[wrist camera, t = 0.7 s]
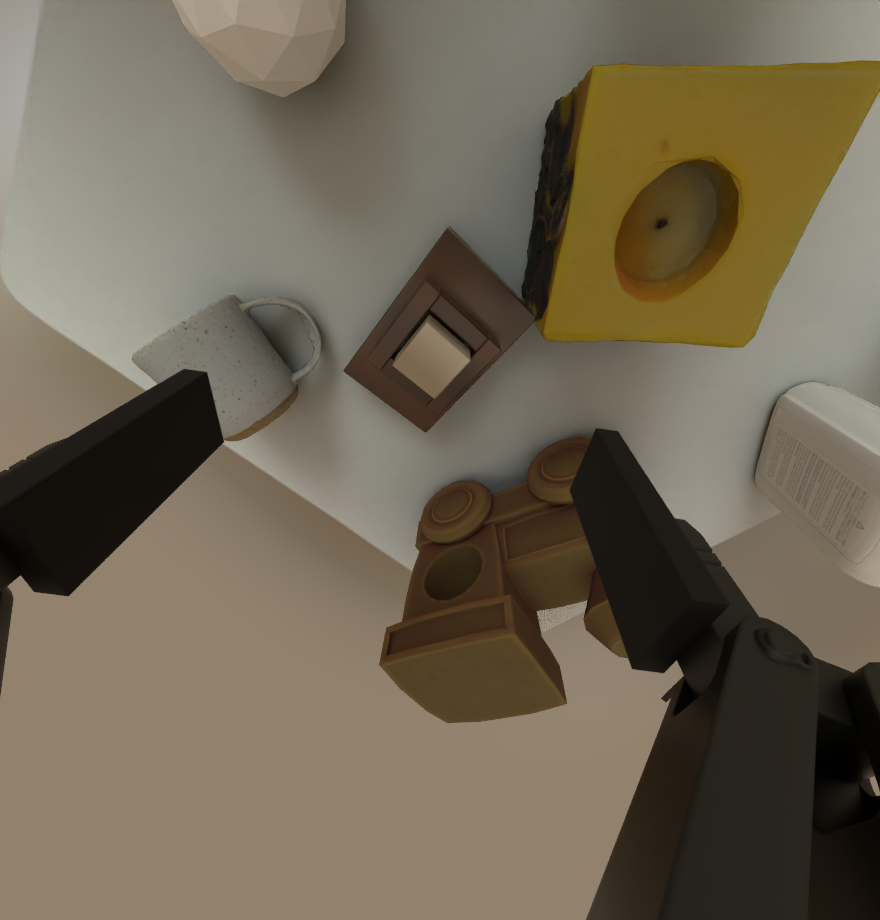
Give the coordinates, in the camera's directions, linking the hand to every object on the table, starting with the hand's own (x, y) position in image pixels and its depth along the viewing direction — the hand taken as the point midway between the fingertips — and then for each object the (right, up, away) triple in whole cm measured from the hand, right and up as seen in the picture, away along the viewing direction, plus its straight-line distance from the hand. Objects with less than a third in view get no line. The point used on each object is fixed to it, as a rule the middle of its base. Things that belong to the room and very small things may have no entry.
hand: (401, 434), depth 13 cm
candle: (+12, +15, +11) cm, 22 cm away
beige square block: (+1, +6, +12) cm, 14 cm away
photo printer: (+31, +1, +18) cm, 36 cm away
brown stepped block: (+1, +8, +15) cm, 17 cm away
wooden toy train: (+9, -5, +24) cm, 26 cm away
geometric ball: (-6, +23, +6) cm, 24 cm away
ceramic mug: (-13, +8, +17) cm, 23 cm away
